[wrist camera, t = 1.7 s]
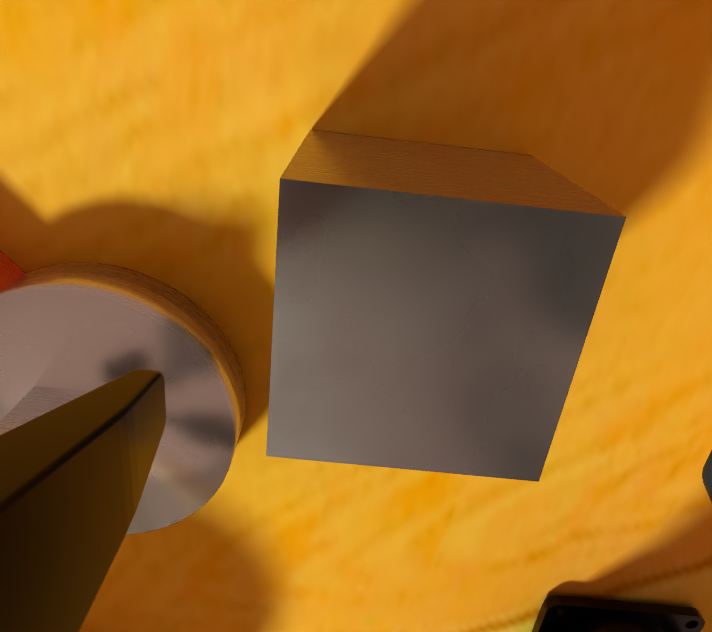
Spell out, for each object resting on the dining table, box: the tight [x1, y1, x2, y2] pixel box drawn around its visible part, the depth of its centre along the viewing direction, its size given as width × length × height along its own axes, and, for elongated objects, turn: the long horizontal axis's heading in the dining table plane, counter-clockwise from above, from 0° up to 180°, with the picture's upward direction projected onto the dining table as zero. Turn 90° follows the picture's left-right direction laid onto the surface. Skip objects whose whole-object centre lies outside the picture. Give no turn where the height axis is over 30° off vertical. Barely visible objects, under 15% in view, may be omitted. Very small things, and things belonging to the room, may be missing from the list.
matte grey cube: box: [266, 130, 626, 481], centre depth 14 cm, size 6×6×6 cm
